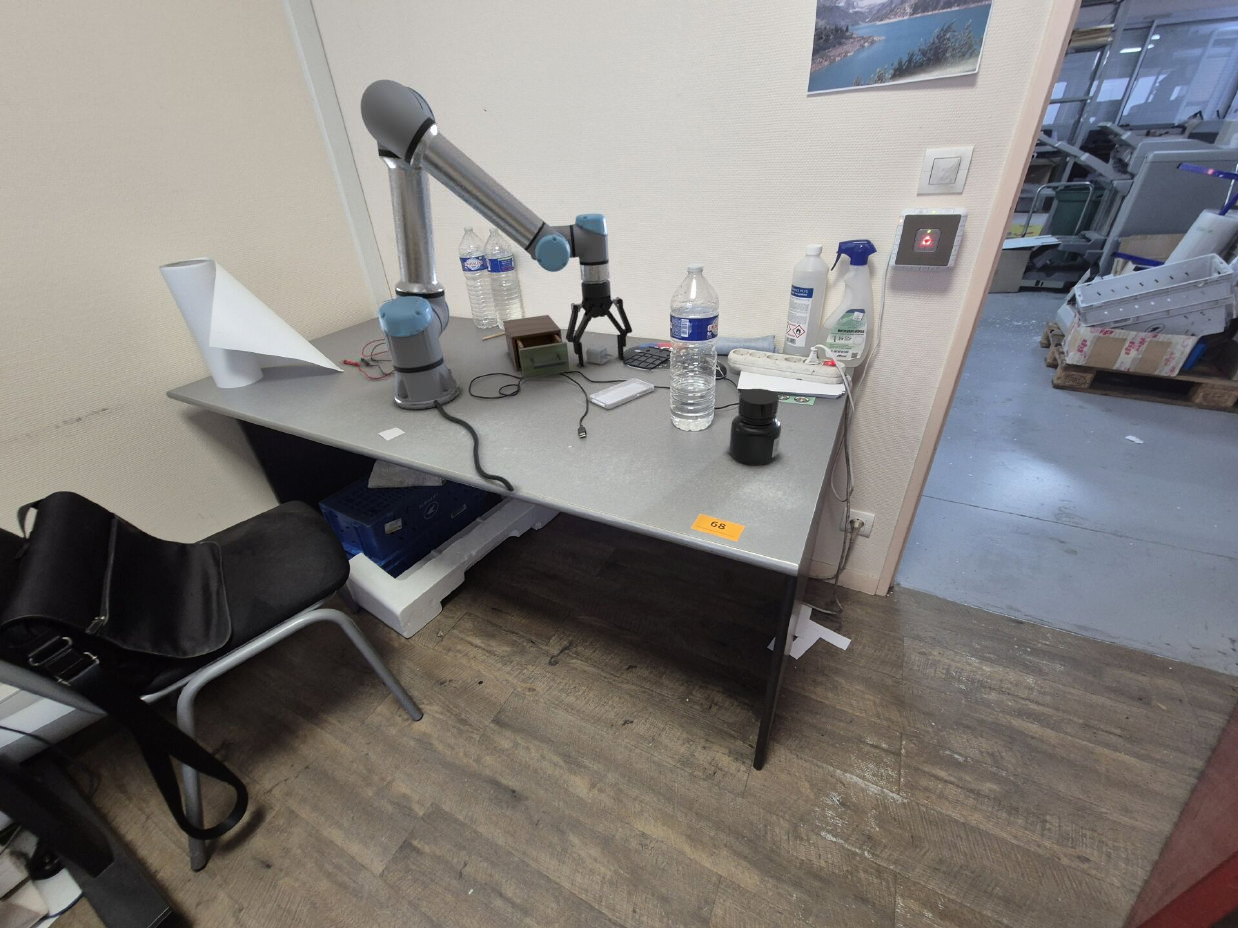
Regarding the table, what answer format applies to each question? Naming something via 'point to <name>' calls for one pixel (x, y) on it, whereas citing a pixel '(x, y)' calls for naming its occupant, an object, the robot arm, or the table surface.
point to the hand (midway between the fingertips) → (601, 361)
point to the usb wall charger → (597, 354)
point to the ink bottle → (756, 427)
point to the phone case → (621, 393)
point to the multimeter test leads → (371, 359)
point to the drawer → (542, 355)
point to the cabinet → (527, 332)
